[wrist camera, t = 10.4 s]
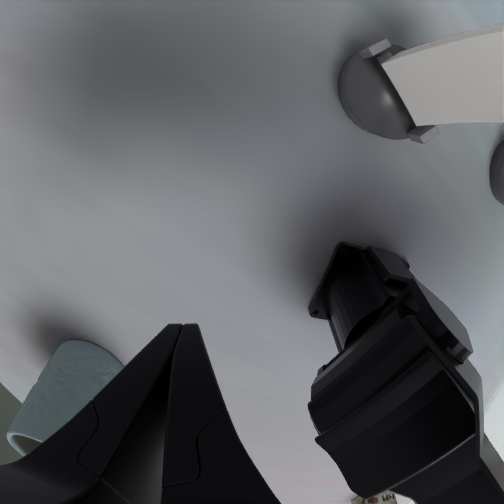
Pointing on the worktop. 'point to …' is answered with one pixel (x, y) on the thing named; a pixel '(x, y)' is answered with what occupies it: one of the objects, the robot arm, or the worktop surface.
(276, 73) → the worktop surface
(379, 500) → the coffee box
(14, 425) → the grey green cup
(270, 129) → the worktop surface
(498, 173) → the dark rounded piece
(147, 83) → the worktop surface
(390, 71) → the block
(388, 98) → the grey switch base
